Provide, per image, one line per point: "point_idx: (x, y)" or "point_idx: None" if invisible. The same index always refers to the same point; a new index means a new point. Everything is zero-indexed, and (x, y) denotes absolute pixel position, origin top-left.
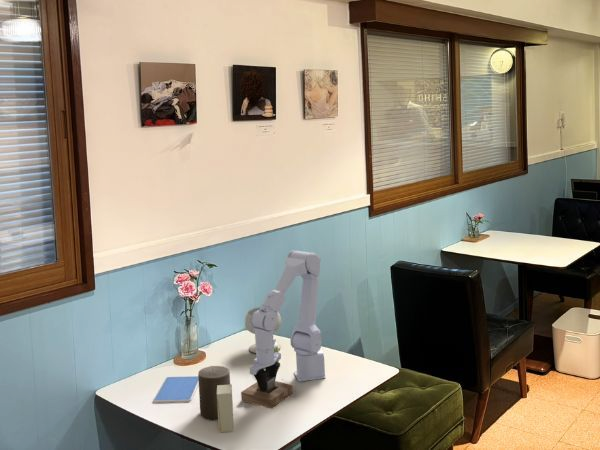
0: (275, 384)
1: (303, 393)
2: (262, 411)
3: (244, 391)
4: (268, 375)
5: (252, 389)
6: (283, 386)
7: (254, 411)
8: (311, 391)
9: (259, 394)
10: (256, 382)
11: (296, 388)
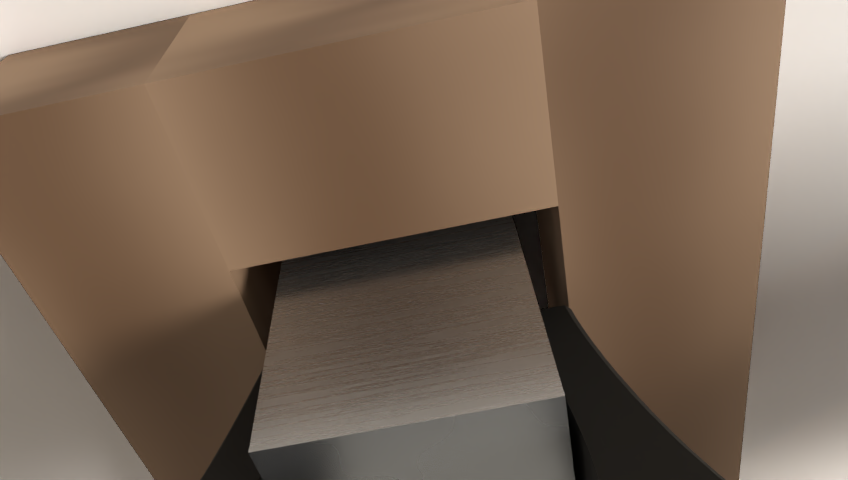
0: (629, 346)
1: (747, 450)
2: (117, 450)
3: (4, 164)
4: (584, 472)
5: (199, 212)
6: None
7: (32, 401)
8: (829, 468)
9: (186, 412)
10: (496, 18)
11: (845, 331)
